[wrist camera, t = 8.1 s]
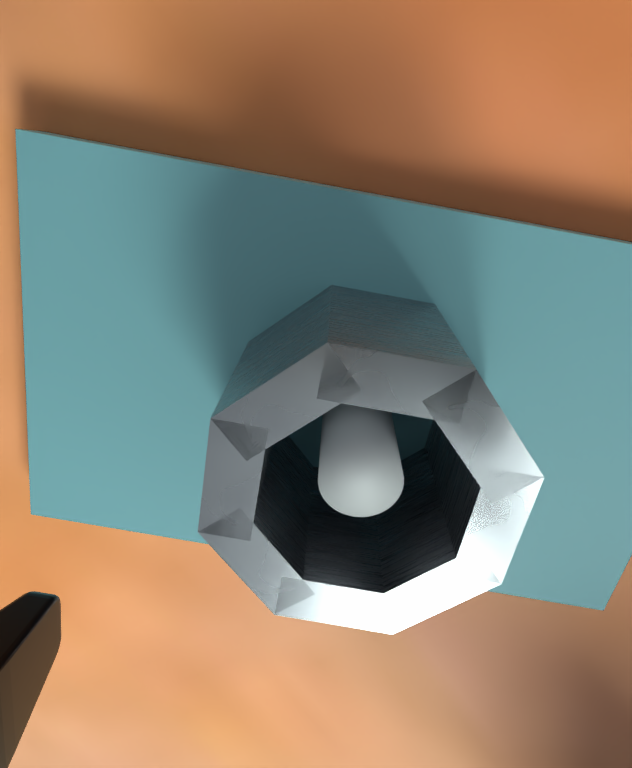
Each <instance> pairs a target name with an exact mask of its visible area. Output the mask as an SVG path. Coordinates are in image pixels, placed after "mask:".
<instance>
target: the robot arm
mask: <svg viewBox="0 0 632 768" xmlns="http://www.w3.org/2000/svg"><path fill="white" fill-rule="evenodd" d="M60 641H61V604H60V599H59V597H58V596H56V595H53V594H47V593H41V592H28V593H26V594H24V595H22V596H21V597H19V598H18V599H16V600H15V601H13V602H12V603H10V604H9V605H7V606H6V607H4V608H3V609H1V610H0V768H8V766H9V764H10V762H11V759H12V757H13V755H14V753H15V751H16V748H17V746H18V744H19V741H20V739H21V737H22V734H23V732H24V730H25V727H26V725H27V723H28V720H29V718H30V716H31V713H32V711H33V709H34V706H35V704H36V702H37V699H38V697H39V695H40V692H41V690H42V688H43V685H44V683H45V681H46V678H47V676H48V674H49V671H50V669H51V667H52V664H53V662H54V660H55V657H56V655H57V652H58V649H59V646H60Z"/></svg>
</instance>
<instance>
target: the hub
mask: <svg viewBox="0 0 632 768" xmlns="http://www.w3.org/2000/svg"><path fill="white" fill-rule="evenodd" d="M341 403H343V404H349V405H354V406H360V407H365V408H371V409H376V410H382V411H388V412H393V413H399V414H404V415H410V416H416V417H421V418H427V419H432V420H433V421H432V424H431V427H430V431H429V434H428V438H427V441H426V445H425V448H423V449H421V450H419V451H418V452H416V453H414V454H412V455H410V456H409V457H407V458H405V459H403V460H401V465H402V470H403V475H404V485H403V490H402V492H401V495H400V496H399V498H398V500H397V501H396V502H395V503H394V504H393V505H392V506H391V507H390V508H389V509H387V510H385V511H384V512H382V513H379V514H376V515H373V516H369V517H353V516H348V515H345V514H342V513H340V512H338V511H336V510H335V509H333V508H332V507H331V506H329V505H328V504H327V502H326V501H325V500H324V499H323V497H322V495H321V493H320V490H319V486H318V471H319V467H314V466H313V465H312V464H311V463H310V462H309V460H308V459H307V458H306V456H305V455H304V454H303V453H302V451H301V450H300V449H299V448H298V446H297V445H296V444H295V443H294V441H293V440H292V439H291V438H290V436H289V435H290V434H292V433H293V432H295V431H296V430H298V429H300V428H301V427H303V426H305V425H306V424H308V423H310V422H311V421H313V420H315V419H316V418H318V417H319V416H321V415H323V414H324V413H326V412H328V411H329V410H331V409H333V408H334V407H336V406H338V405H339V404H341ZM543 480H544V476H543V475H542V473H541V471H540V470H539V468H538V467H537V465H536V463H535V462H534V460H533V459H532V457H531V455H530V454H529V452H528V451H527V449H526V448H525V446H524V444H523V443H522V441H521V440H520V438H519V436H518V435H517V433H516V432H515V430H514V428H513V427H512V425H511V424H510V422H509V420H508V419H507V417H506V416H505V414H504V413H503V411H502V409H501V408H500V406H499V405H498V403H497V401H496V400H495V398H494V397H493V395H492V393H491V392H490V390H489V389H488V387H487V385H486V384H485V382H484V381H483V379H482V378H481V376H480V374H479V373H478V371H477V370H476V368H475V366H474V365H473V363H472V362H471V360H470V358H469V357H468V355H467V354H466V352H465V350H464V349H463V347H462V346H461V344H460V343H459V341H458V339H457V338H456V336H455V335H454V333H453V331H452V330H451V328H450V327H449V325H448V324H447V322H446V320H445V319H444V317H443V316H442V314H441V312H440V311H439V309H438V308H437V306H436V305H435V304H433V303H428V302H422V301H417V300H412V299H406V298H401V297H395V296H390V295H385V294H379V293H374V292H368V291H363V290H358V289H352V288H347V287H341V286H336V285H331V286H329V287H328V288H326V289H325V290H323V291H322V292H320V293H319V294H318V295H316V296H315V297H313V298H312V299H310V300H309V301H307V302H306V303H304V304H303V305H301V306H300V307H298V308H297V309H295V310H294V311H293V312H291V313H290V314H288V315H287V316H285V317H284V318H282V319H281V320H279V321H278V322H276V323H275V324H273V325H272V326H270V327H269V328H267V329H266V330H265V331H263V332H262V333H260V334H259V335H257V336H256V337H254V338H253V339H251V340H250V341H249V342H248V344H247V346H246V348H245V350H244V352H243V354H242V356H241V358H240V360H239V362H238V364H237V366H236V368H235V370H234V372H233V374H232V376H231V378H230V380H229V382H228V384H227V386H226V388H225V390H224V392H223V394H222V396H221V398H220V400H219V402H218V404H217V406H216V408H215V410H214V412H213V414H212V416H211V418H210V426H209V435H208V444H207V453H206V461H205V470H204V479H203V488H202V497H201V506H200V515H199V524H198V533H199V534H200V535H201V536H202V537H203V538H204V540H205V541H206V542H207V543H208V544H209V545H210V546H211V547H212V548H213V549H214V550H215V551H216V552H217V553H218V555H219V556H220V557H221V558H222V559H223V560H224V561H225V562H226V563H227V564H228V565H229V566H230V567H231V569H232V570H233V571H234V572H235V573H236V574H237V575H238V576H239V577H240V578H241V579H242V580H243V581H244V583H245V584H246V585H247V586H248V587H249V588H250V589H251V590H252V591H253V592H254V593H255V594H256V595H257V596H258V598H259V599H260V600H261V601H262V602H263V603H264V604H265V605H266V606H267V607H268V608H269V609H270V610H271V612H272V613H273V614H274V615H279V616H285V617H291V618H297V619H303V620H309V621H315V622H321V623H326V624H332V625H338V626H344V627H350V628H356V629H362V630H368V631H374V632H380V633H386V634H392V635H393V634H395V633H397V632H399V631H402V630H404V629H406V628H408V627H410V626H412V625H414V624H417V623H419V622H421V621H423V620H425V619H427V618H430V617H432V616H434V615H436V614H438V613H440V612H442V611H445V610H447V609H449V608H451V607H453V606H455V605H457V604H460V603H462V602H464V601H466V600H468V599H470V598H473V597H475V596H477V595H479V594H481V593H483V592H485V591H488V590H490V589H492V588H494V587H496V586H498V585H500V584H502V582H503V579H504V577H505V574H506V572H507V569H508V567H509V564H510V562H511V559H512V557H513V554H514V552H515V549H516V547H517V544H518V542H519V539H520V537H521V534H522V532H523V529H524V527H525V524H526V522H527V519H528V517H529V515H530V512H531V510H532V507H533V505H534V502H535V500H536V497H537V495H538V492H539V490H540V487H541V485H542V482H543Z"/></svg>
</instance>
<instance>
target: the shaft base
mask: <svg viewBox="0 0 632 768" xmlns="http://www.w3.org/2000/svg"><path fill="white" fill-rule="evenodd" d="M15 130H16V154H17V179H18V204H19V229H20V254H21V279H22V304H23V329H24V354H25V379H26V404H27V429H28V454H29V479H30V504H31V514H32V515H38V516H44V517H50V518H56V519H62V520H68V521H74V522H80V523H86V524H92V525H98V526H104V527H110V528H116V529H121V530H127V531H133V532H139V533H145V534H151V535H157V536H163V537H169V538H175V539H181V540H187V541H193V542H199V543H205V544H208V543H207V542H206V541H205V540H204V538H203V537H202V536H201V535H200V534H199V533H198V524H199V515H200V506H201V497H202V488H203V479H204V470H205V461H206V453H207V444H208V435H209V426H210V418H211V416H212V414H213V412H214V410H215V408H216V406H217V404H218V402H219V400H220V398H221V396H222V394H223V392H224V390H225V388H226V386H227V384H228V382H229V380H230V378H231V376H232V374H233V372H234V370H235V368H236V366H237V364H238V362H239V360H240V358H241V356H242V354H243V352H244V350H245V348H246V346H247V344H248V342H249V341H250V340H251V339H253V338H254V337H256V336H257V335H259V334H260V333H262V332H263V331H265V330H266V329H267V328H269V327H270V326H272V325H273V324H275V323H276V322H278V321H279V320H281V319H282V318H284V317H285V316H287V315H288V314H290V313H291V312H293V311H294V310H295V309H297V308H298V307H300V306H301V305H303V304H304V303H306V302H307V301H309V300H310V299H312V298H313V297H315V296H316V295H318V294H319V293H320V292H322V291H323V290H325V289H326V288H328V287H329V286H331V285H336V286H341V287H347V288H352V289H358V290H363V291H368V292H374V293H379V294H385V295H390V296H395V297H401V298H406V299H412V300H417V301H422V302H428V303H433V304H435V305H436V306H437V308H438V309H439V311H440V312H441V314H442V316H443V317H444V319H445V320H446V322H447V324H448V325H449V327H450V328H451V330H452V331H453V333H454V335H455V336H456V338H457V339H458V341H459V343H460V344H461V346H462V347H463V349H464V350H465V352H466V354H467V355H468V357H469V358H470V360H471V362H472V363H473V365H474V366H475V368H476V370H477V371H478V373H479V374H480V376H481V378H482V379H483V381H484V382H485V384H486V385H487V387H488V389H489V390H490V392H491V393H492V395H493V397H494V398H495V400H496V401H497V403H498V405H499V406H500V408H501V409H502V411H503V413H504V414H505V416H506V417H507V419H508V420H509V422H510V424H511V425H512V427H513V428H514V430H515V432H516V433H517V435H518V436H519V438H520V440H521V441H522V443H523V444H524V446H525V448H526V449H527V451H528V452H529V454H530V455H531V457H532V459H533V460H534V462H535V463H536V465H537V467H538V468H539V470H540V471H541V473H542V475H543V476H544V480H543V482H542V485H541V487H540V490H539V492H538V495H537V497H536V500H535V502H534V505H533V507H532V510H531V512H530V515H529V517H528V519H527V522H526V524H525V527H524V529H523V532H522V534H521V537H520V539H519V542H518V544H517V547H516V549H515V552H514V554H513V557H512V559H511V562H510V564H509V567H508V569H507V572H506V574H505V577H504V579H503V582H502V584H500V585H498V586H496V587H494V588H492V589H490V590H488V591H490V592H496V593H502V594H508V595H514V596H520V597H526V598H532V599H538V600H544V601H550V602H556V603H562V604H568V605H573V606H579V607H585V608H591V609H597V610H603V611H604V609H605V607H606V605H607V603H608V601H609V599H610V597H611V595H612V593H613V591H614V589H615V587H616V585H617V583H618V581H619V579H620V577H621V575H622V573H623V571H624V569H625V567H626V565H627V563H628V561H629V559H630V557H631V555H632V242H629V241H624V240H619V239H613V238H608V237H603V236H597V235H592V234H587V233H581V232H576V231H571V230H565V229H560V228H555V227H549V226H544V225H539V224H533V223H528V222H523V221H517V220H512V219H507V218H501V217H496V216H491V215H485V214H480V213H475V212H469V211H464V210H459V209H453V208H448V207H443V206H437V205H432V204H427V203H421V202H416V201H411V200H405V199H400V198H395V197H389V196H384V195H379V194H373V193H368V192H363V191H357V190H352V189H347V188H342V187H336V186H331V185H326V184H320V183H315V182H310V181H304V180H299V179H294V178H288V177H283V176H278V175H272V174H267V173H262V172H256V171H251V170H246V169H240V168H235V167H230V166H224V165H219V164H214V163H208V162H203V161H198V160H192V159H187V158H182V157H176V156H171V155H166V154H160V153H155V152H150V151H144V150H139V149H134V148H128V147H123V146H118V145H112V144H107V143H102V142H96V141H91V140H86V139H80V138H75V137H70V136H64V135H59V134H54V133H48V132H43V131H35V130H23V129H15ZM432 421H433V420H432V419H427V418H421V417H416V416H410V415H404V414H399V413H393V412H388V411H382V410H376V409H371V408H365V407H360V406H354V405H349V404H343V403H341V404H339V405H338V406H336V407H334V408H333V409H331V410H329V411H328V412H326V413H324V414H323V415H321V416H319V417H318V418H316V419H315V420H313V421H311V422H310V423H308V424H306V425H305V426H303V427H301V428H300V429H298V430H296V431H295V432H293V433H292V434H290V435H289V436H290V438H291V439H292V440H293V441H294V443H295V444H296V445H297V446H298V448H299V449H300V450H301V451H302V453H303V454H304V455H305V456H306V458H307V459H308V460H309V462H310V463H311V464H312V465H313V466H314V467H319V471H318V486H319V490H320V493H321V495H322V497H323V499H324V500H325V501H326V502H327V504H328V505H329V506H331V507H332V508H333V509H335V510H336V511H338V512H340V513H342V514H345V515H348V516H353V517H369V516H373V515H376V514H379V513H382V512H384V511H385V510H387V509H389V508H390V507H391V506H392V505H393V504H394V503H395V502H396V501H397V500H398V498H399V496H400V495H401V492H402V490H403V485H404V475H403V470H402V465H401V460H403V459H405V458H407V457H409V456H410V455H412V454H414V453H416V452H418V451H419V450H421V449H423V448H425V445H426V441H427V438H428V434H429V431H430V427H431V424H432Z"/></svg>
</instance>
